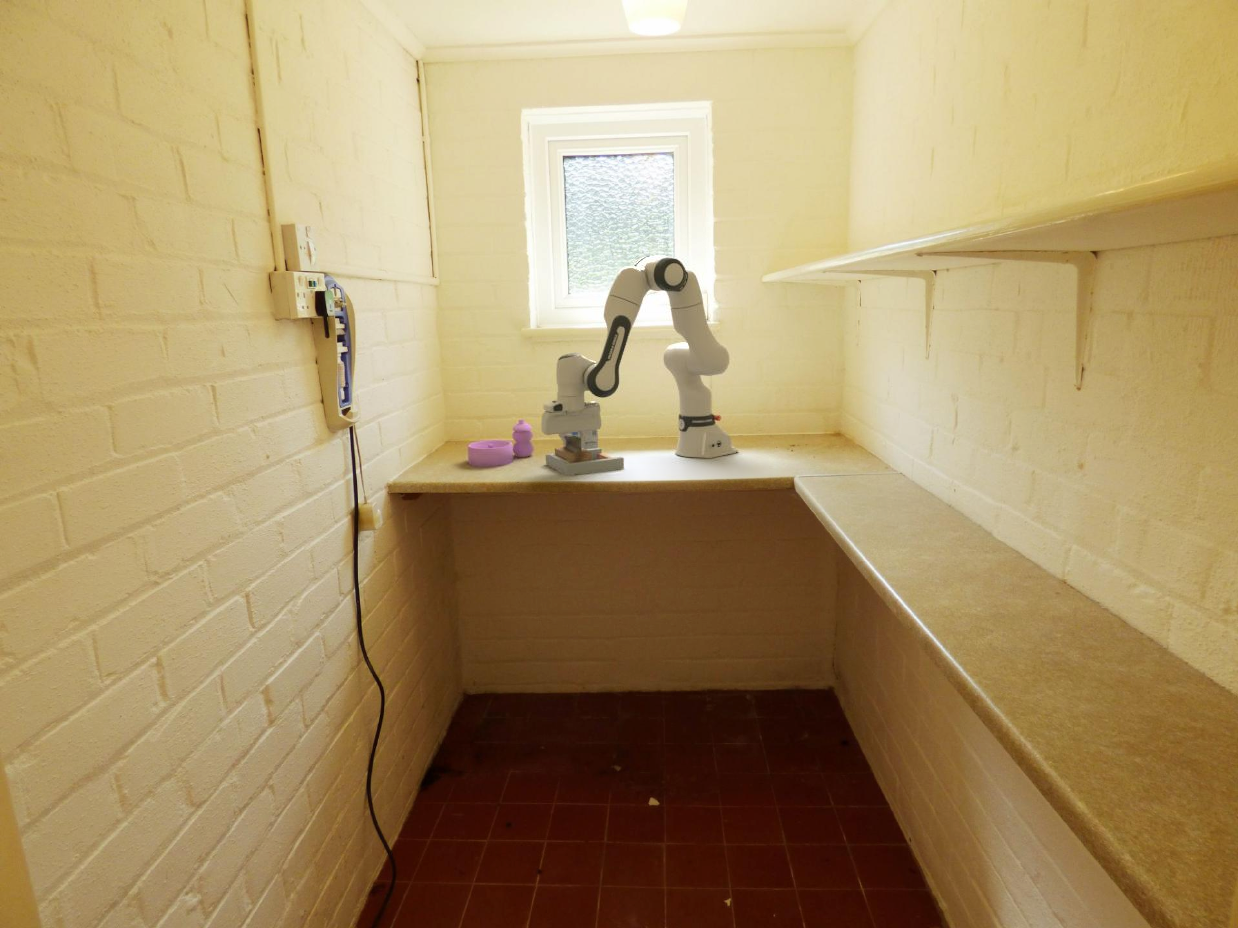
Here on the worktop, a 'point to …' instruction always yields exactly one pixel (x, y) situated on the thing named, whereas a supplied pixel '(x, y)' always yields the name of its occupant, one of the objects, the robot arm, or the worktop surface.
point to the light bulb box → (588, 439)
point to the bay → (585, 463)
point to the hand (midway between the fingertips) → (572, 445)
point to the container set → (502, 448)
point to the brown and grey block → (573, 450)
